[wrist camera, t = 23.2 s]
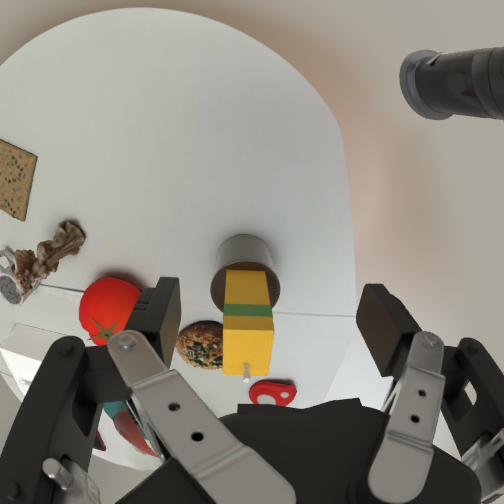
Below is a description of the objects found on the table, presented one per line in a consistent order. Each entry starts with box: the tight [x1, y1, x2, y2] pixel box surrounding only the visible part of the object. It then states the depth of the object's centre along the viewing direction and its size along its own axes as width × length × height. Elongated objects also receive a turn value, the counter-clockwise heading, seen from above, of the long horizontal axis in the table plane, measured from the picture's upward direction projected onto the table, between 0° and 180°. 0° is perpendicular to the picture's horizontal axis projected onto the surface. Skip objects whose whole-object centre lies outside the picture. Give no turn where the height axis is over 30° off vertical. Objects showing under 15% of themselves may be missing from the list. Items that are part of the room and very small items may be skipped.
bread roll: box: [175, 321, 223, 370], centre depth 51 cm, size 11×11×5 cm
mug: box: [0, 249, 41, 307], centre depth 41 cm, size 10×7×7 cm
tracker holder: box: [249, 382, 297, 406], centre depth 58 cm, size 12×4×10 cm
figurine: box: [13, 222, 85, 296], centre depth 36 cm, size 7×6×15 cm
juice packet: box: [223, 270, 274, 382], centre depth 31 cm, size 5×6×13 cm
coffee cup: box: [210, 234, 280, 313], centre depth 42 cm, size 10×9×9 cm
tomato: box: [79, 277, 141, 346], centre depth 43 cm, size 12×12×10 cm
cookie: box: [0, 140, 37, 221], centre depth 37 cm, size 12×12×1 cm
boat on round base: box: [103, 401, 159, 458], centre depth 58 cm, size 28×28×11 cm
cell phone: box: [93, 431, 106, 451], centre depth 68 cm, size 8×15×1 cm, turn 171°
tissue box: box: [0, 323, 68, 396], centre depth 51 cm, size 14×25×11 cm, turn 174°
